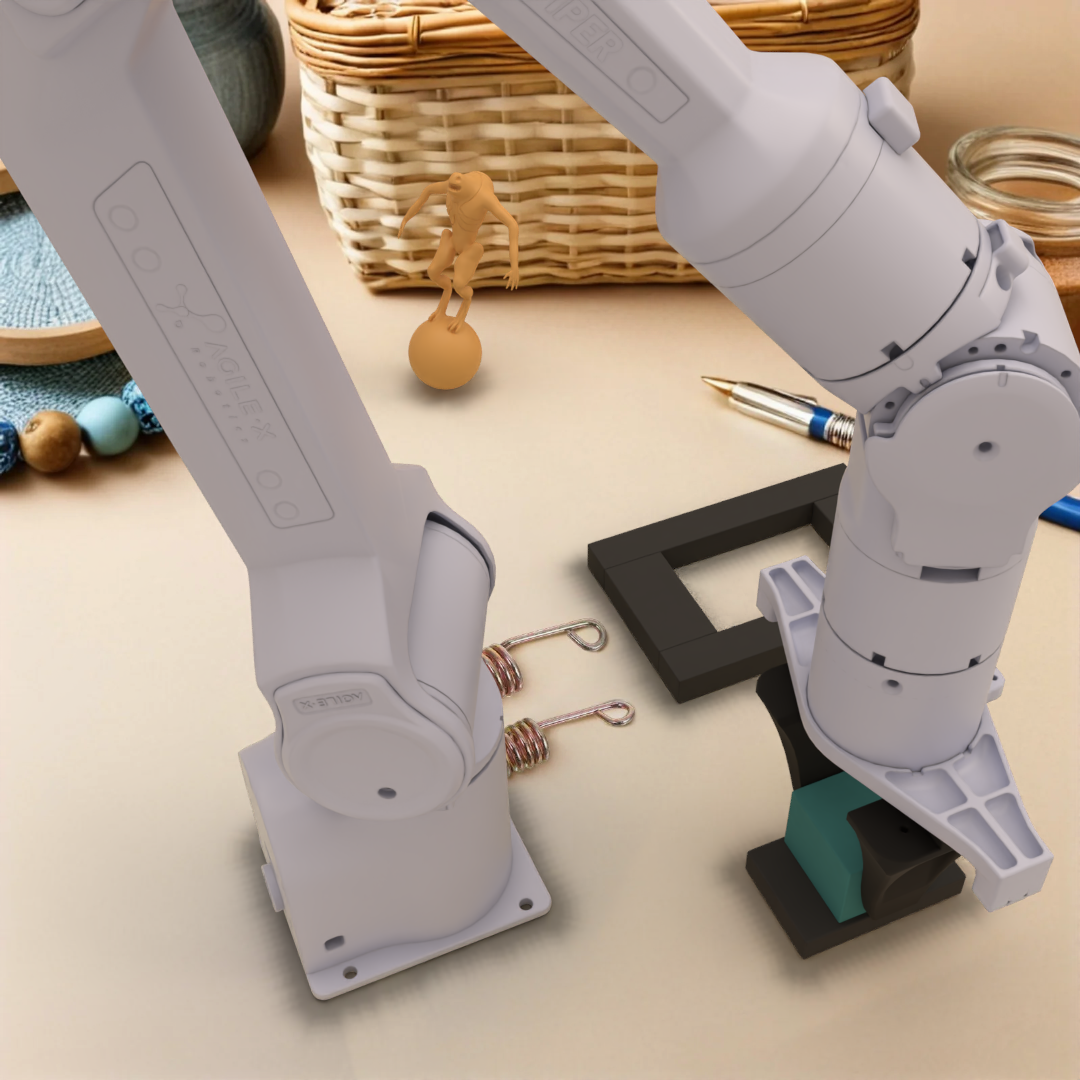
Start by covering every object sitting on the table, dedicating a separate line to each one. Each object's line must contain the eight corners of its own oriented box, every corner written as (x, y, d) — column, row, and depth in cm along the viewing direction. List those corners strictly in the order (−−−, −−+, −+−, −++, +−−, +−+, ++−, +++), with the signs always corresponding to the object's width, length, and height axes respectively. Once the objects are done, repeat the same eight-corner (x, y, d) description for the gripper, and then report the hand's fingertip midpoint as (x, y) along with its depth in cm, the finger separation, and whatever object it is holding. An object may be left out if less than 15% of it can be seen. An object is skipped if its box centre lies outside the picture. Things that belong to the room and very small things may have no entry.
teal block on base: (802, 961, 53) (815, 894, 50) (744, 868, 56) (753, 800, 53) (961, 893, 55) (983, 825, 52) (897, 807, 58) (914, 738, 55)
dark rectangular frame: (678, 704, 63) (679, 681, 62) (587, 566, 69) (586, 543, 68) (949, 607, 67) (955, 584, 66) (840, 484, 73) (843, 461, 72)
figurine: (368, 370, 81) (343, 177, 72) (442, 321, 84) (426, 131, 76) (479, 429, 77) (466, 231, 68) (552, 375, 80) (548, 180, 72)
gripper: (1175, 731, 42) (1067, 977, 51) (892, 439, 51) (845, 690, 61) (970, 814, 40) (897, 1054, 49) (716, 495, 49) (696, 745, 59)
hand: (857, 857), depth 55 cm, fingers closed on teal block on base, 4 cm apart
